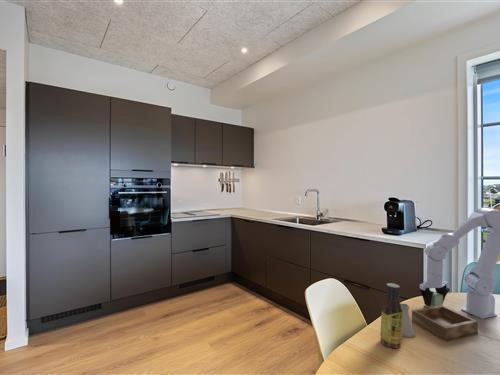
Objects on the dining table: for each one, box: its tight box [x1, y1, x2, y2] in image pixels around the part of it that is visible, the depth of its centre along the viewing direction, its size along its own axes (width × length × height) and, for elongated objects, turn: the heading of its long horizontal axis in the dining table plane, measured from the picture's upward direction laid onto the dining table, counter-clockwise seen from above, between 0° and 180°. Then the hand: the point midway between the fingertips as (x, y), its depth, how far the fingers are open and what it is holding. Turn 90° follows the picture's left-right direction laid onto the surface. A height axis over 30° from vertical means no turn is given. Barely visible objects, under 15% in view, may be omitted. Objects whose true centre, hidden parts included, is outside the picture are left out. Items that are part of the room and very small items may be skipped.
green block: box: [424, 290, 444, 308], centre depth 114 cm, size 4×4×6 cm
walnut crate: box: [411, 304, 479, 342], centre depth 98 cm, size 16×13×4 cm
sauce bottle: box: [380, 282, 403, 349], centre depth 88 cm, size 6×6×20 cm
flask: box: [400, 302, 416, 338], centre depth 95 cm, size 7×7×10 cm
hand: (433, 304), depth 114 cm, fingers open, 7 cm apart
